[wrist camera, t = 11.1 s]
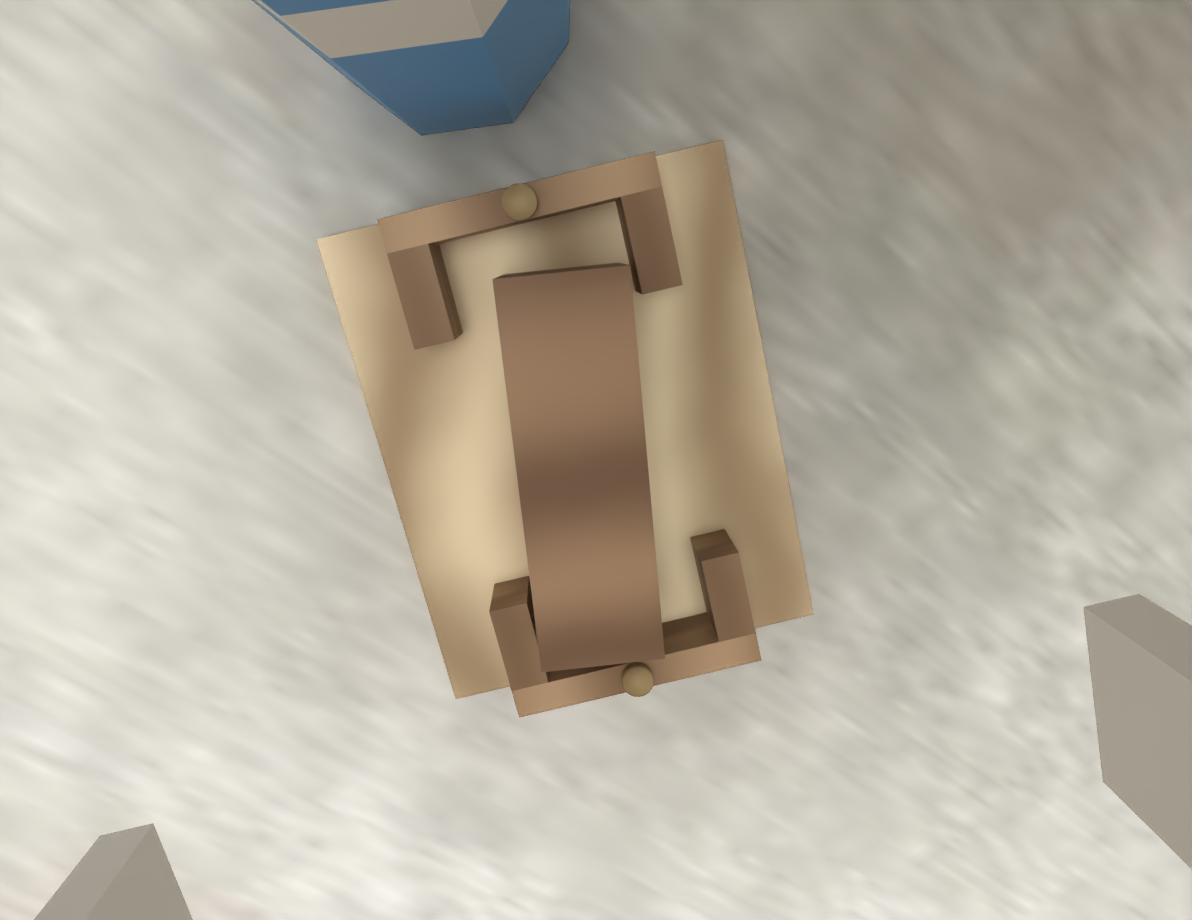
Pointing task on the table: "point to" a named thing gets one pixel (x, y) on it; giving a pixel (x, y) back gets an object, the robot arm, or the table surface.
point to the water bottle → (435, 53)
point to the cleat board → (669, 396)
